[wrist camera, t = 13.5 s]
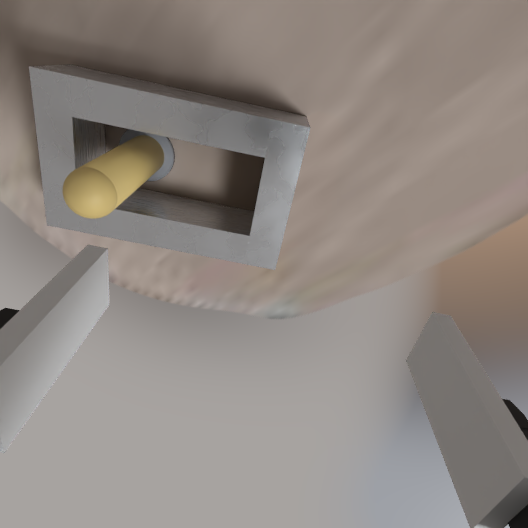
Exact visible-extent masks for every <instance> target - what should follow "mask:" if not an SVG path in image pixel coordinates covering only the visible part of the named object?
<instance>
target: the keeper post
mask: <svg viewBox="0 0 528 528" xmlns="http://www.w3.org/2000/svg"><path fill="white" fill-rule="evenodd" d="M174 159H175V154H174V149H173V146H172V144H171V142H170V140H169V139H168V137H164V136H160V135H155V134H150V133H145V132H141V131H136V130H131V129H129V130H127V131H126V132H125V133H124V134H123V136H122V137H121V140H120V143H119V146H118V147H116V148H114V149H112V150H110V151H108V152H107V153H105V154H103V155H101V156H99V157H97V158H95V159H94V160H92V161H90V162H88V163H86V164H84V165H83V166H81V167H79V168H77V169H75V170H74V171H72V172H71V173H70V174H69V175H68V176H67V177H66V179H65V181H64V184H63V197H64V200H65V202H66V204H67V205H68V207H69V208H70V209H71V210H72V211H73V212H74V213H76V214H78V215H80V216H82V217H85V218H91V219H96V218H101V217H104V216H106V215H108V214H110V213H111V212H112V211H113V210H114V209H115V208H117V207H118V206H119V205H120V204H121V203H122V202H123V201H124V200H125V199H127V198H128V197H129V196H130V195H131V194H132V193H133V192H134V191H135V190H137V189H138V188H139V187H140V186H141V185H142V184H143V183H144V182H145V181H156V180H159V179H161V178H163V177H164V176H166V175H167V174H168V173H169V172H170V170H171V169H172V167H173V164H174Z"/></svg>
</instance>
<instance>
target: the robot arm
mask: <svg viewBox="0 0 528 528" xmlns="http://www.w3.org/2000/svg"><path fill="white" fill-rule="evenodd" d="M108 306H109V274H108V248H102V247H97V246H92V245H87V246H86V247H85V248H84V249H83V250H82V251H81V252H80V253H79V254H78V255H77V256H76V257H75V258H74V259H73V260H72V261H70V262H69V263H68V264H67V265H66V266H65V267H64V268H63V269H62V270H61V271H60V272H59V273H58V274H57V275H56V276H55V277H54V278H53V279H52V280H51V281H50V282H49V283H48V284H47V285H46V286H45V287H44V288H43V289H42V290H40V291H39V292H38V293H37V294H36V295H35V296H34V297H33V298H32V299H31V300H30V301H29V302H28V303H27V304H26V305H25V306H24V307H23V308H22V309H21V310H14V309H8V308H4V309H3V310H1V311H0V452H2V453H5V452H6V450H7V449H8V447H9V446H10V445H11V443H12V442H13V440H14V439H15V438H16V436H17V435H18V433H19V432H20V430H21V429H22V427H23V426H24V425H25V423H26V422H27V421H28V419H29V418H30V416H31V415H32V413H33V412H34V411H35V409H36V408H37V406H38V405H39V404H40V402H41V401H42V399H43V398H44V396H45V395H46V393H47V392H48V391H49V389H50V388H51V387H52V385H53V384H54V382H55V381H56V379H57V378H58V377H59V375H60V374H61V372H62V371H63V370H64V368H65V367H66V365H67V364H68V362H69V361H70V360H71V358H72V357H73V355H74V354H75V352H76V351H77V350H78V348H79V347H80V345H81V344H82V342H83V341H84V340H85V338H86V337H87V335H88V334H89V333H90V331H91V330H92V328H93V327H94V325H95V324H96V323H97V321H98V320H99V318H100V317H101V316H102V314H103V313H104V311H105V310H106V308H107V307H108ZM406 362H407V364H408V366H409V369H410V372H411V375H412V377H413V380H414V382H415V385H416V388H417V390H418V393H419V395H420V398H421V401H422V403H423V406H424V409H425V411H426V414H427V416H428V419H429V422H430V424H431V427H432V429H433V432H434V435H435V437H436V439H437V442H438V445H439V448H440V450H441V453H442V455H443V458H444V461H445V463H446V466H447V469H448V471H449V474H450V476H451V479H452V482H453V484H454V487H455V489H456V492H457V495H458V497H459V500H460V502H461V505H462V507H463V510H464V513H465V515H466V518H467V521H468V523H469V526H470V528H504V527H505V526H506V525H507V524H509V526H510V528H528V420H527V419H526V417H525V415H524V414H523V413H522V412H521V411H520V410H519V409H518V408H517V407H516V406H515V405H514V404H513V403H512V402H511V401H510V400H505V399H502V398H501V397H500V395H499V393H498V392H497V390H496V388H495V387H494V385H493V384H492V382H491V381H490V379H489V377H488V375H487V374H486V372H485V371H484V369H483V367H482V366H481V364H480V362H479V361H478V359H477V358H476V356H475V354H474V353H473V351H472V350H471V348H470V346H469V345H468V343H467V341H466V340H465V338H464V337H463V335H462V333H461V332H460V330H459V329H458V327H457V326H456V324H455V322H454V321H453V319H452V317H451V316H450V315H445V314H440V313H435V312H432V314H431V316H430V318H429V319H428V321H427V323H426V325H425V327H424V329H423V330H422V332H421V334H420V336H419V338H418V340H417V341H416V343H415V345H414V347H413V349H412V351H411V352H410V354H409V356H408V358H407V360H406Z"/></svg>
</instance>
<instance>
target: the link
mask: <svg viewBox="0 0 528 528" xmlns="http://www.w3.org/2000/svg"><path fill="white" fill-rule="evenodd" d="M29 73H30V81H31V90H32V99H33V107H34V116H35V125H36V134H37V142H38V151H39V160H40V168H41V177H42V186H43V194H44V203H45V212H46V221H47V225H48V226H53V227H59V228H64V229H69V230H74V231H79V232H84V233H89V234H94V235H99V236H104V237H110V238H115V239H120V240H125V241H130V242H135V243H140V244H145V245H150V246H155V247H161V248H166V249H171V250H176V251H181V252H186V253H191V254H196V255H201V256H206V257H211V258H217V259H222V260H227V261H232V262H237V263H242V264H247V265H252V266H257V267H262V268H268V269H273V270H275V268H276V264H277V260H278V256H279V252H280V248H281V244H282V240H283V236H284V232H285V228H286V224H287V220H288V216H289V212H290V208H291V204H292V199H293V195H294V191H295V187H296V183H297V179H298V175H299V171H300V167H301V163H302V159H303V155H304V151H305V147H306V143H307V139H308V135H309V131H310V125H309V122H308V119H307V116H303V115H298V114H293V113H289V112H284V111H280V110H275V109H271V108H266V107H262V106H257V105H252V104H248V103H243V102H239V101H234V100H230V99H225V98H220V97H216V96H211V95H207V94H202V93H198V92H193V91H189V90H184V89H179V88H175V87H170V86H166V85H161V84H157V83H152V82H147V81H143V80H138V79H134V78H129V77H125V76H120V75H116V74H111V73H106V72H102V71H97V70H93V69H88V68H84V67H79V66H74V65H48V66H29ZM105 124H108V125H112V126H117V127H122V128H127V129H131V130H136V131H141V132H145V133H150V134H155V135H160V136H164V137H169V138H174V139H178V140H183V141H188V142H193V143H197V144H202V145H207V146H211V147H216V148H221V149H226V150H230V151H235V152H240V153H245V154H249V155H254V156H259V157H263V158H265V160H264V165H263V171H262V176H261V181H260V186H259V191H258V196H257V201H256V206H255V211H249V210H244V209H239V208H234V207H230V206H225V205H220V204H215V203H210V202H205V201H200V200H195V199H190V198H185V197H181V196H176V195H171V194H166V193H161V192H156V191H151V190H146V189H141V188H138V189H137V190H135V191H134V192H133V193H132V194H131V195H130V196H129V197H128V198H127V199H125V200H124V201H123V202H122V203H121V204H120V205H119V206H118V207H117V208H115V209H114V210H113V211H112V212H111V213H110V214H108V215H106V216H104V217H101V218H96V219H91V218H85V217H82V216H80V215H78V214H76V213H74V212H73V211H72V210H71V209H70V208H69V207H68V205H67V204H66V202H65V200H64V197H63V184H64V181H65V179H66V177H67V176H68V175H69V174H70V173H71V172H72V171H74V170H75V169H77V168H79V167H81V166H83V165H84V164H86V163H88V162H90V161H92V160H94V159H95V158H97V157H99V156H101V155H103V154H105V153H106V143H105Z"/></svg>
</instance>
